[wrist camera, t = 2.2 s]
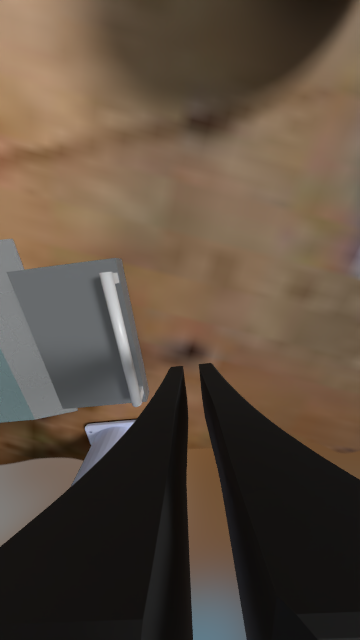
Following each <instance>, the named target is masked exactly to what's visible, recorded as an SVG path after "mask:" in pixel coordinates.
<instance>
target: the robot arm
mask: <svg viewBox="0 0 360 640" xmlns="http://www.w3.org/2000/svg"><path fill="white" fill-rule="evenodd" d="M199 370H200V381H201V391H202V400H203V407H204V414H205V419H206V423H207V427H208V431H209V435H210V440H211V444H212V448H213V451H214V455H215V460H216V464H217V468H218V473H219V477H220V482H221V488H222V493H223V499H224V505H225V511H226V517H227V522H228V529H229V534H230V541H231V546H232V553H233V558H234V564H235V571H236V577H237V582H238V589H239V595H240V601H241V607H242V613H243V619H244V625H245V631H246V637H247V640H360V480H359V479H357V478H356V477H354V476H353V475H350V474H349V473H348V472H346V471H344V470H343V469H341V468H339V467H338V466H336V465H335V464H333V463H331V462H330V461H328V460H326V459H325V458H323V457H322V456H320V455H319V454H317V453H315V452H314V451H312V450H311V449H310V448H308V447H307V446H305V445H304V444H302V443H301V442H299V441H298V440H296V439H295V438H293V437H292V436H290V435H289V434H287V433H286V432H285V431H283V430H282V429H280V428H279V427H278V426H276V425H275V424H274V423H272V422H271V421H270V420H269V419H267V418H266V417H265V416H264V415H262V414H261V413H260V412H259V411H258V410H256V409H255V408H254V407H253V406H252V405H251V404H249V403H248V402H247V401H246V400H245V399H244V398H243V397H242V396H241V395H240V394H239V393H238V392H237V391H236V390H235V389H234V388H233V387H232V386H231V385H230V384H229V383H228V382H227V381H226V380H225V379H224V378H223V377H222V375H221V374H220V373H219V372H218V371H217V369H216V368H215V367H214V366H213V364H211V363H207V364H199ZM85 431H86V433H87V436H88V438H89V441H90V444H91V447H90V449H89V451H88V453H87V455H86V457H85V459H84V461H83V464H82V466H81V467H80V469H79V471H78V473H77V475H76V477H75V479H74V481H73V483H72V485H71V487H70V488H69V489H68V490H67V491H66V492H65V493H64V494H63V495H61V496H60V497H59V498H58V499H57V500H56V501H55V502H53V503H52V504H51V505H50V506H49V507H48V508H47V509H45V510H44V511H43V512H42V513H40V514H39V515H38V516H37V517H36V518H34V519H33V520H32V521H31V522H30V523H28V524H27V525H26V526H25V527H24V528H22V529H21V530H20V531H19V532H18V533H16V534H15V535H14V536H13V537H12V538H10V539H9V540H8V541H7V542H6V543H4V544H3V545H2V546H1V547H0V640H193V630H192V611H191V610H192V609H191V587H190V564H189V540H188V515H187V488H186V469H187V442H188V406H187V394H186V387H185V379H184V371H183V366H176V367H171V368H170V369H169V371H168V373H167V375H166V376H165V378H164V380H163V382H162V383H161V385H160V387H159V388H158V390H157V391H156V393H155V395H154V396H153V398H152V399H151V400H150V402H149V403H148V405H147V406H146V407H145V409H144V410H143V412H142V413H141V414H140V416H139V417H138V418H137V419H136V420H126V421H115V422H103V423H92V424H87V425H86V427H85Z"/></svg>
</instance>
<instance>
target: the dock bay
mask: <svg viewBox="0 0 360 640" xmlns="http://www.w3.org/2000/svg"><path fill="white" fill-rule="evenodd" d="M19 270H25V269H24V267H23V264H22V261H21V259H20V256H19V254H18V251H17V248H16V246H15V243H14V240H13V239H5V240H0V423H1V422H12V421H23V420H34V419H40V418H44V417H49V416H54V415H59V414H64V413H69V412H74V411H78V409H77V408H69V409H63V408H62V406H61V403H60V401H59V398H58V396H57V394H56V391H55V389H54V386H53V384H52V381H51V379H50V377H49V374H48V372H47V369H46V367H45V365H44V362H43V360H42V357H41V355H40V352H39V350H38V348H37V345H36V343H35V340H34V338H33V335H32V333H31V331H30V328H29V326H28V323H27V321H26V318H25V316H24V314H23V311H22V309H21V306H20V304H19V301H18V299H17V297H16V294H15V292H14V289H13V287H12V285H11V282H10V280H9V277H8V275H7V272H11V271H19Z"/></svg>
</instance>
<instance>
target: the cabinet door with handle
mask: <svg viewBox="0 0 360 640" xmlns="http://www.w3.org/2000/svg"><path fill="white" fill-rule="evenodd" d="M7 275H8V277H9V280H10V282H11V285H12V287H13V289H14V292H15V294H16V297H17V299H18V301H19V304H20V306H21V309H22V311H23V314H24V316H25V318H26V321H27V323H28V326H29V328H30V331H31V333H32V335H33V338H34V340H35V343H36V345H37V348H38V350H39V352H40V355H41V357H42V360H43V362H44V365H45V367H46V369H47V372H48V374H49V377H50V379H51V381H52V384H53V386H54V389H55V391H56V394H57V396H58V398H59V401H60V403H61V406H62V408H63V409H69V408H80V407H91V406H102V405H113V404H124V403H132V405H133V406H134V407H138V406H140V405H141V404H142V402H146V401H147V399H148V395H149V388H148V383H147V378H146V374H145V369H144V364H143V359H142V355H141V350H140V345H139V340H138V336H137V331H136V326H135V321H134V317H133V312H132V307H131V302H130V298H129V293H128V288H127V283H126V279H125V274H124V269H123V264H122V260H121V259H119V258H111V259H104V260H96V261H88V262H81V263H73V264H65V265H57V266H50V267H42V268H34V269H26V270H19V271H11V272H7Z"/></svg>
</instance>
